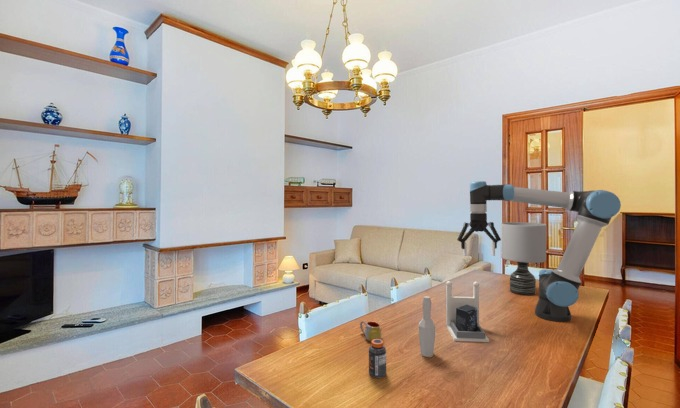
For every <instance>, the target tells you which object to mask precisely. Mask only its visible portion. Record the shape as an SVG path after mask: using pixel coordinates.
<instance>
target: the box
mask: <svg viewBox="0 0 680 408" xmlns="http://www.w3.org/2000/svg"><path fill="white" fill-rule="evenodd" d="M456 328H457V329H458V331H473V332H477V308H476V307H473V306H469V305H464V306H461V307H457V308H456Z"/></svg>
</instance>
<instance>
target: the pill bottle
mask: <svg viewBox="0 0 680 408" xmlns="http://www.w3.org/2000/svg"><path fill="white" fill-rule="evenodd" d="M370 343H371V345H370V346H369V347H368V374H369V375H370V376H371V377H373V378H375V379H381V378H384V377H386V375H387V349H386V347H385V346H384V341H383V339H382V340H381V339H373V340H372V341H371V342H370Z"/></svg>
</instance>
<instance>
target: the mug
mask: <svg viewBox="0 0 680 408" xmlns="http://www.w3.org/2000/svg"><path fill="white" fill-rule="evenodd" d="M363 325H365V327H364V328H363ZM359 326H360V330H361V331H362V333H363V334H364V335H365V338H366V340H367V341H368V342H370V343H371V341H372V340H373V339H381V340H382V341H383V338H382V334H383V333H382V328H381V326H380V323H378V322H377V321H367V322H366V321H365V320H362V321H360V324H359Z"/></svg>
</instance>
